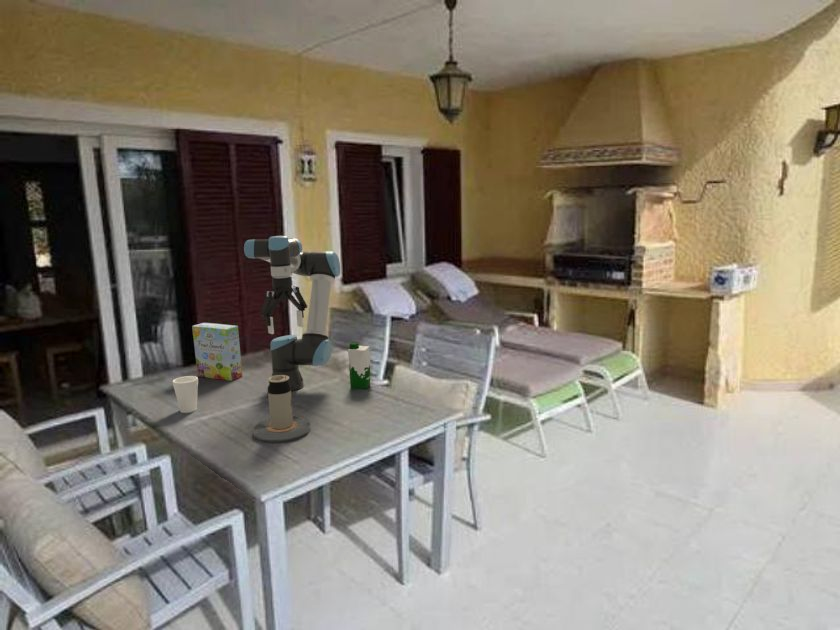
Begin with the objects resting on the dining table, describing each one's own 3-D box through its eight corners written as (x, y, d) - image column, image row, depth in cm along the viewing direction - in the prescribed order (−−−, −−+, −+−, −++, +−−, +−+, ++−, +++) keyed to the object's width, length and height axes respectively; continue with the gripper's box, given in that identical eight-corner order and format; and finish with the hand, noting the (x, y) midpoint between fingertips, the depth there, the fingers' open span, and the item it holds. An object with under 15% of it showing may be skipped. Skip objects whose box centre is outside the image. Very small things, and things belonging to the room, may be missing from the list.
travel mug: (268, 430, 200) (264, 381, 196) (273, 421, 207) (269, 374, 204) (290, 429, 200) (287, 381, 196) (294, 420, 208) (291, 374, 204)
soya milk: (353, 383, 258) (351, 340, 254) (372, 383, 257) (371, 341, 253) (348, 389, 250) (345, 345, 246) (367, 389, 248) (365, 346, 244)
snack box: (196, 377, 273) (190, 325, 268) (209, 372, 281) (204, 322, 276) (231, 381, 264) (226, 328, 260) (243, 376, 272) (239, 324, 267)
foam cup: (178, 416, 222) (175, 384, 219) (174, 409, 229) (170, 378, 227) (203, 410, 227) (200, 380, 224) (198, 404, 235) (195, 374, 232)
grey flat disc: (289, 417, 218) (289, 411, 217) (321, 430, 204) (320, 424, 204) (243, 432, 204) (242, 427, 203) (273, 448, 190) (273, 441, 190)
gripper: (258, 282, 205) (263, 338, 209) (313, 273, 222) (317, 324, 227) (247, 280, 209) (252, 335, 214) (302, 271, 227) (306, 322, 232)
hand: (286, 330), depth 221 cm, fingers open, 13 cm apart
